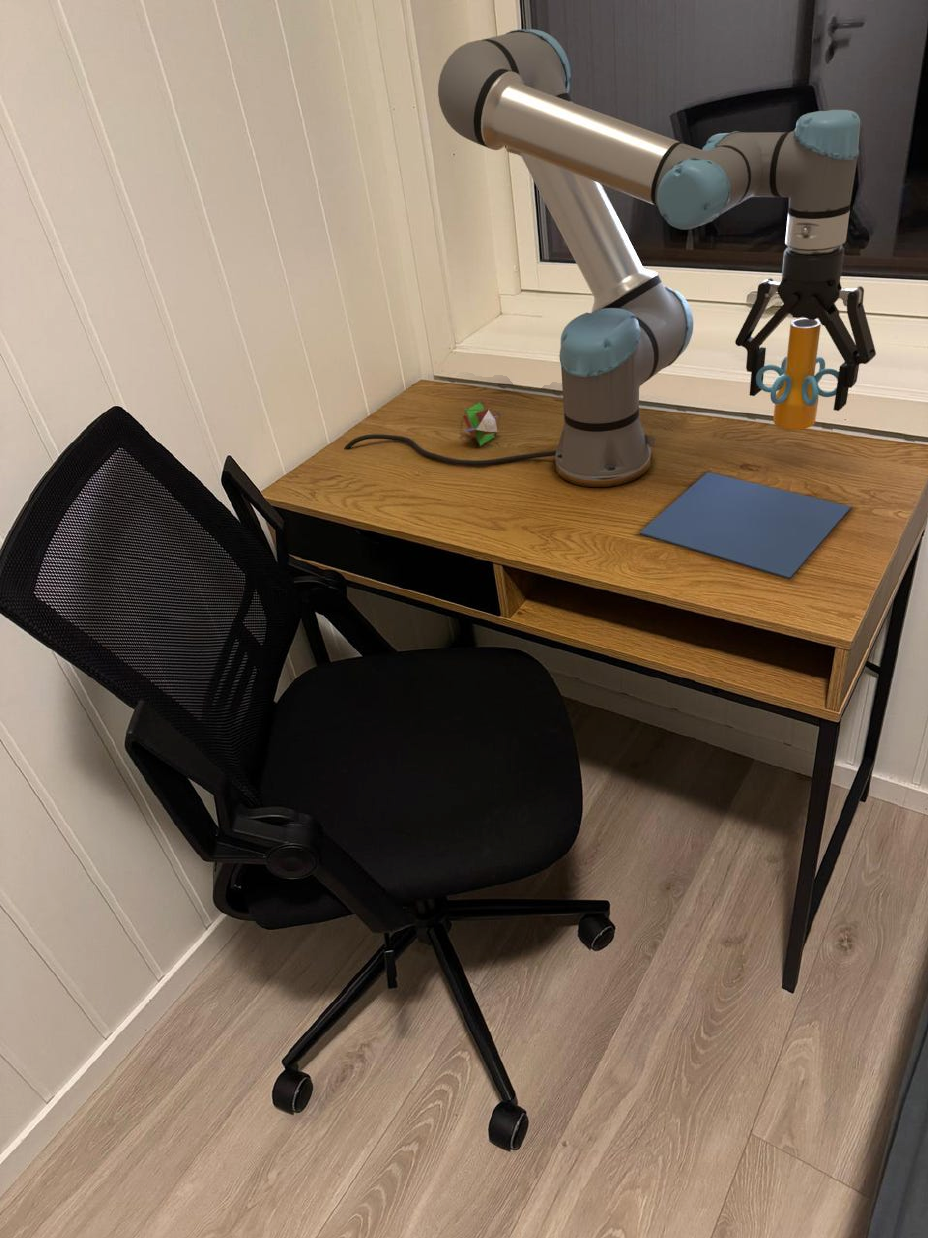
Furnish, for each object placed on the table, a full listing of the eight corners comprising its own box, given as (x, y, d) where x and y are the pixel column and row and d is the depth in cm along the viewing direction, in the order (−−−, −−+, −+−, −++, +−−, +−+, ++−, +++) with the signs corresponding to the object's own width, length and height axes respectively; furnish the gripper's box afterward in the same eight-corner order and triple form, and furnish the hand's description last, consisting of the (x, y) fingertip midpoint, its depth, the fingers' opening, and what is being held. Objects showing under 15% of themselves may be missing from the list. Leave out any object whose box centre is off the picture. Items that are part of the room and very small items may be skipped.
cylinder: (745, 411, 133) (753, 314, 124) (811, 400, 133) (823, 303, 124) (774, 444, 124) (785, 343, 115) (845, 434, 124) (862, 331, 115)
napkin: (639, 533, 121) (639, 532, 121) (707, 473, 133) (707, 471, 132) (789, 579, 109) (790, 577, 109) (851, 508, 120) (851, 506, 120)
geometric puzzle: (445, 431, 151) (461, 402, 145) (470, 415, 155) (487, 386, 149) (473, 460, 151) (490, 432, 144) (497, 443, 155) (515, 416, 148)
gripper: (716, 247, 118) (709, 395, 131) (899, 261, 104) (871, 424, 117) (741, 232, 122) (732, 377, 135) (921, 244, 108) (891, 403, 121)
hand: (796, 399), depth 126 cm, fingers closed on cylinder, 12 cm apart
